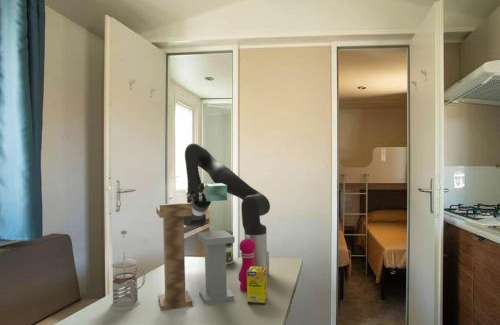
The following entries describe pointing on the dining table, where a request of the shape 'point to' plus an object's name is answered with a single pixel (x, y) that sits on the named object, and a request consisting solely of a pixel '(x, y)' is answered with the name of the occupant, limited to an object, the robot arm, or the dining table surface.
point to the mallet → (215, 192)
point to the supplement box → (257, 285)
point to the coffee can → (229, 251)
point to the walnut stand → (174, 255)
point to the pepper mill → (246, 260)
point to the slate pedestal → (215, 266)
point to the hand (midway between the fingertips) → (207, 184)
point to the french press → (125, 285)
